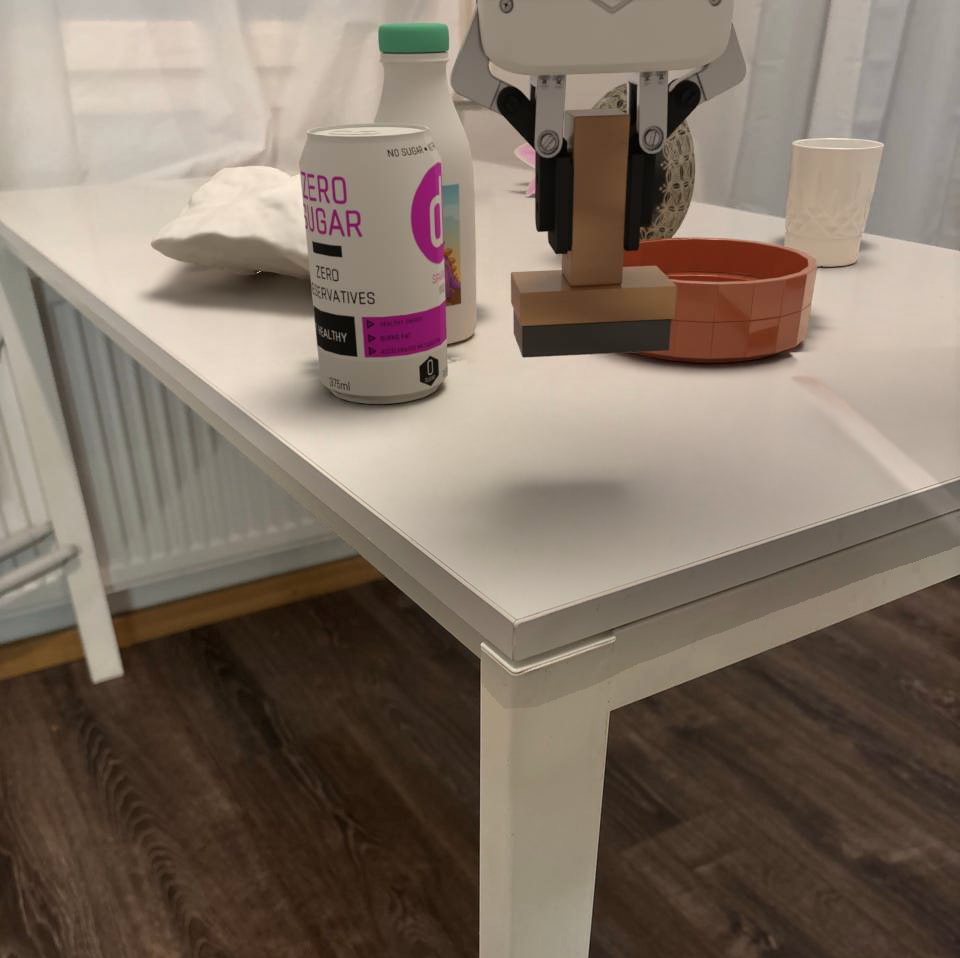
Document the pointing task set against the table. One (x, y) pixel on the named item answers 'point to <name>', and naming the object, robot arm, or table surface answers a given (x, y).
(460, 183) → the milk bottle
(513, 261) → the table surface
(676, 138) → the decorative egg
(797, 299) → the bowl
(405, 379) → the supplement can
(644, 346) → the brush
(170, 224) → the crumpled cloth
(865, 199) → the white cup
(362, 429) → the table surface
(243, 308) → the table surface
